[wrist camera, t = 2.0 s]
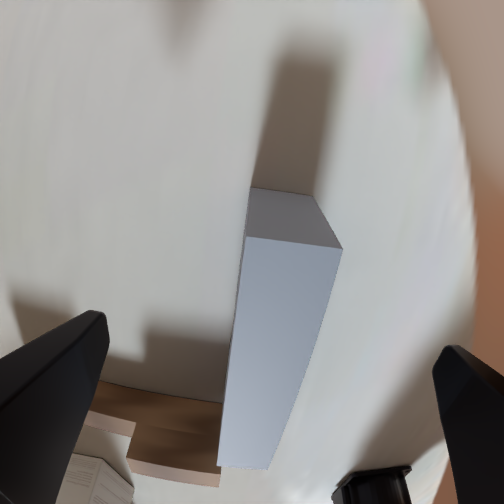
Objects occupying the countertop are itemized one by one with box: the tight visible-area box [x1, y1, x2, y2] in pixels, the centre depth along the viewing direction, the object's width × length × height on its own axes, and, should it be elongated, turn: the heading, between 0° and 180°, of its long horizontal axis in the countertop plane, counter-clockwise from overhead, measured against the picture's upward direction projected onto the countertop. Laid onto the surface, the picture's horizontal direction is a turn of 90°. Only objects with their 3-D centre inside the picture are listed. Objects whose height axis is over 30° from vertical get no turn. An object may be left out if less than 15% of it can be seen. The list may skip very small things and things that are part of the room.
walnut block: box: [84, 381, 223, 487], centre depth 16 cm, size 14×2×5 cm, turn 83°
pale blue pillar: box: [217, 187, 343, 470], centre depth 13 cm, size 2×12×5 cm, turn 173°
